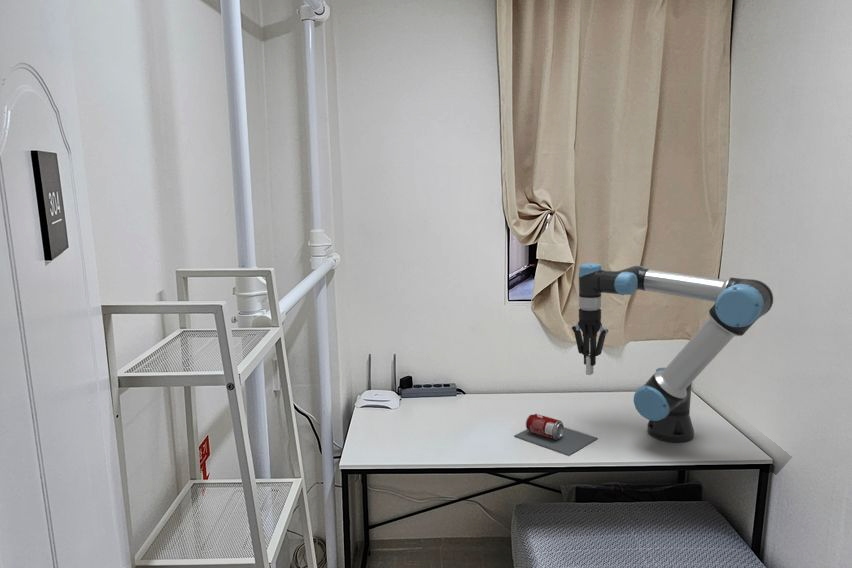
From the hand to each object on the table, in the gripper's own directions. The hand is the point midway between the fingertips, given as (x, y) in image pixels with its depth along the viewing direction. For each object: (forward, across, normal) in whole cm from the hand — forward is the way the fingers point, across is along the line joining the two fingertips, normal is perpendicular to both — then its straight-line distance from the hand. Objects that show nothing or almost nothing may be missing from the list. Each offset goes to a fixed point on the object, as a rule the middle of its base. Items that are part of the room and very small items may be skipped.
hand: (589, 373), depth 221 cm
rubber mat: (+20, +5, +15) cm, 26 cm away
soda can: (+16, +2, +17) cm, 24 cm away
